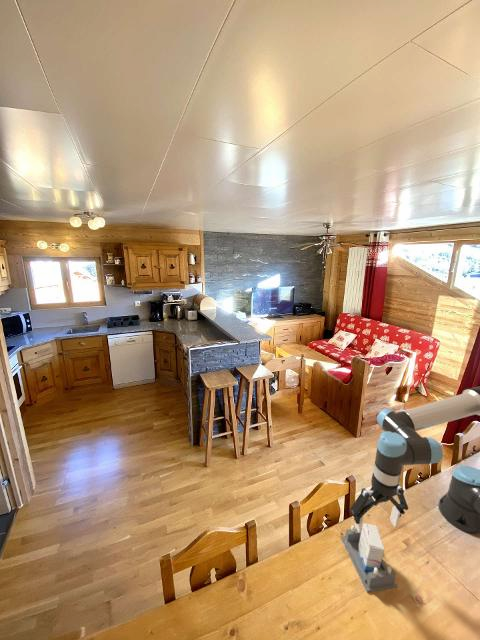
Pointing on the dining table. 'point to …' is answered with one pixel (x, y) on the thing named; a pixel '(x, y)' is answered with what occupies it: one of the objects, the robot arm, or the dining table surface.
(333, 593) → the dining table surface
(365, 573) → the cradle
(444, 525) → the dining table surface
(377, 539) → the ink box
